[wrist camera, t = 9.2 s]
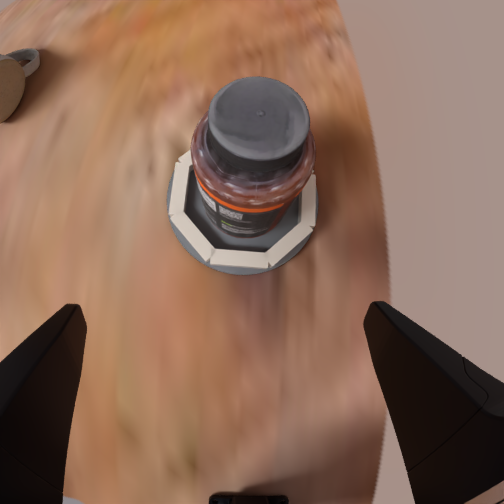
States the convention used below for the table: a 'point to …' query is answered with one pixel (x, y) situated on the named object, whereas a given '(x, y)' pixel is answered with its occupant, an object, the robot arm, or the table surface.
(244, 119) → the supplement bottle
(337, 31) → the table surface
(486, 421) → the robot arm
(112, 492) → the table surface
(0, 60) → the ceramic mug
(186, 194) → the ring seat
